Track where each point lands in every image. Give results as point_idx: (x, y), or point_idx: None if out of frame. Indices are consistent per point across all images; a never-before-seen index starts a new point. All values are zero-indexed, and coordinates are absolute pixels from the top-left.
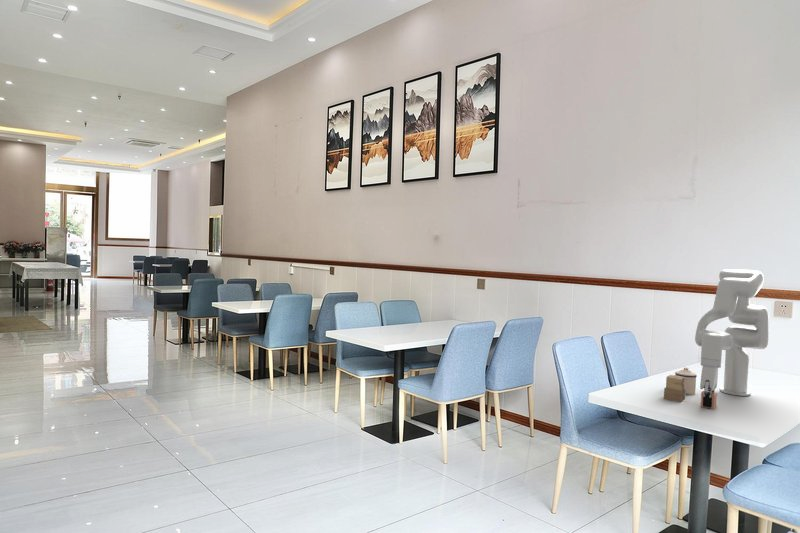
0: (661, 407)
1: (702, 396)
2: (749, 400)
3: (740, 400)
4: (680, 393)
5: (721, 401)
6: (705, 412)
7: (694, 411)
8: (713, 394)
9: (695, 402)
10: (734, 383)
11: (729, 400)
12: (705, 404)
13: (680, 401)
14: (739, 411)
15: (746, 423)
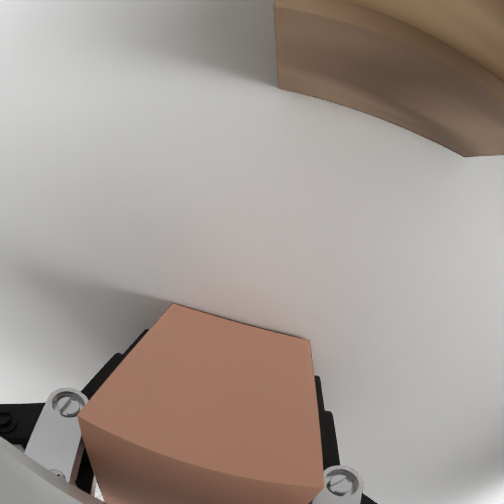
0: (12, 28)
1: (112, 388)
2: (493, 482)
3: (495, 469)
4: (277, 18)
5: (476, 432)
6: (27, 307)
7: (3, 231)
8: (109, 500)
9: (383, 265)
10: None
11: (496, 448)
12: (118, 357)
13: (279, 78)
14: None
15: None
